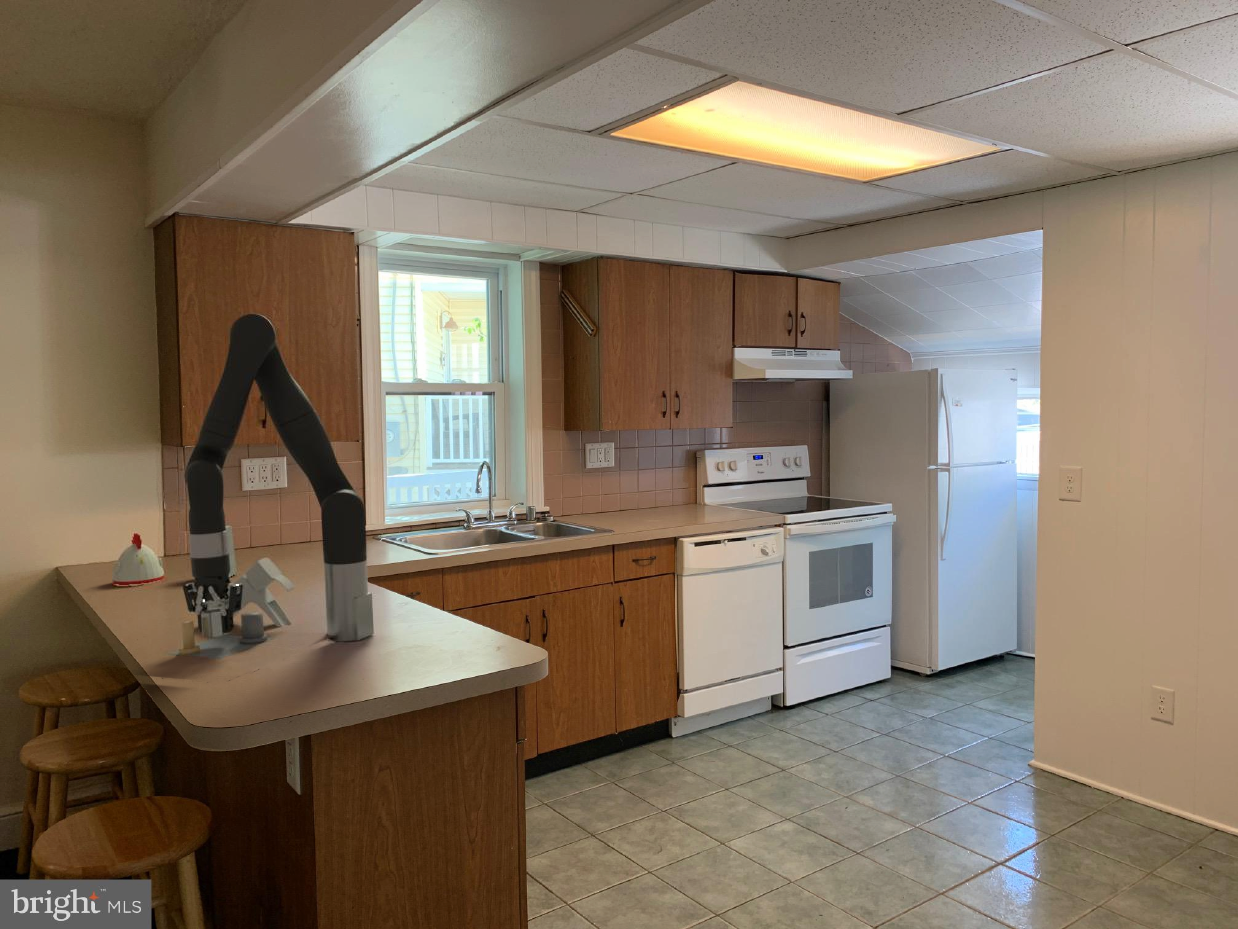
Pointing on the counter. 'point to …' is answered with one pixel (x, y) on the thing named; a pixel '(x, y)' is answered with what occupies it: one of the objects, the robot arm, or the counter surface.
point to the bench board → (224, 639)
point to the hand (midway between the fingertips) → (216, 631)
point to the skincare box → (231, 551)
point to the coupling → (212, 623)
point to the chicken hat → (137, 565)
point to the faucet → (262, 590)
